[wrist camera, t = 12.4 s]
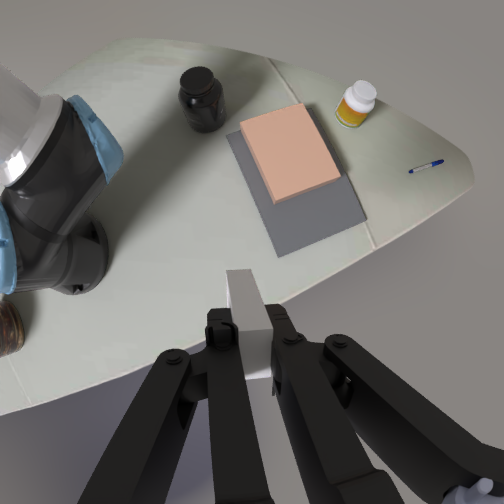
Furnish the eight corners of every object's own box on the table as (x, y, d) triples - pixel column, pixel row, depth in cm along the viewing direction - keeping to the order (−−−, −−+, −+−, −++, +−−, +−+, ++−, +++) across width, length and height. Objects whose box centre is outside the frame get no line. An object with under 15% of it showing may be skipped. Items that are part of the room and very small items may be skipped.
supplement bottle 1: (233, 122, 44) (229, 83, 32) (198, 140, 44) (183, 104, 32) (216, 96, 45) (208, 55, 33) (182, 112, 44) (165, 74, 32)
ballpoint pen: (441, 158, 45) (443, 157, 44) (442, 162, 45) (445, 161, 44) (407, 171, 44) (410, 169, 43) (409, 175, 44) (412, 174, 43)
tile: (340, 176, 40) (302, 102, 41) (275, 200, 40) (239, 122, 40) (334, 181, 43) (299, 112, 44) (273, 205, 43) (240, 131, 44)
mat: (364, 221, 44) (366, 220, 43) (278, 257, 44) (278, 257, 43) (310, 109, 45) (311, 108, 44) (226, 136, 44) (226, 135, 44)
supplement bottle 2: (359, 133, 44) (380, 108, 35) (331, 123, 44) (348, 95, 35) (362, 111, 45) (381, 84, 35) (336, 101, 45) (351, 72, 35)
